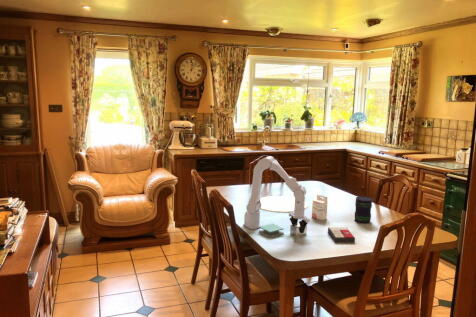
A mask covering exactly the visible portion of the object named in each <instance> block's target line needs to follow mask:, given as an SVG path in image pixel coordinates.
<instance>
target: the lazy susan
mask: <svg viewBox="0 0 476 317" xmlns="http://www.w3.org/2000/svg"><path fill="white" fill-rule="evenodd" d="M260 199H261V200H260V202H261V208H260V209H259V210H263V211H267V212H272V213H291V212H292V213H294V204H295V197H291V196H278V195H274V196H272V195H271V196H269V195H267V196H263V197H260ZM307 208H309V204H308V203H307V201H305V208H304V211H305V210H306V209H307Z"/></svg>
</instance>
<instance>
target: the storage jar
mask: <svg viewBox="0 0 476 317" xmlns="http://www.w3.org/2000/svg"><path fill="white" fill-rule="evenodd" d="M372 202H373V198H371V197H368V196H356V197H355V203H354V205H355V211H354V220H353V221H354V222H356V223H357V224H361V225H362V224H364V225H367V224H370V223H371V219H372V206H373V203H372Z"/></svg>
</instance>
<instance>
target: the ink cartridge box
mask: <svg viewBox="0 0 476 317" xmlns="http://www.w3.org/2000/svg"><path fill="white" fill-rule="evenodd" d="M327 214H328V196H324V195H321V194H316V198H315V199H313V200H312V206H311V218H314V219H317V220H318V221H319V220H320V221H324V220H327V217H328V215H327Z"/></svg>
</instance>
